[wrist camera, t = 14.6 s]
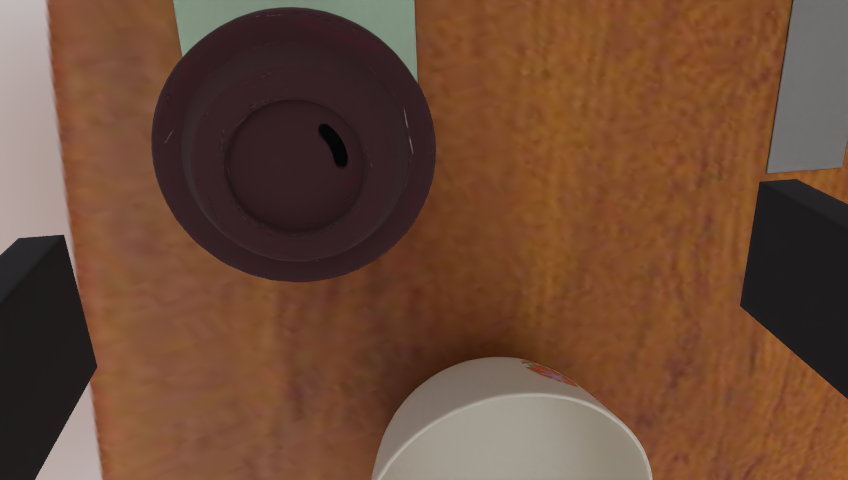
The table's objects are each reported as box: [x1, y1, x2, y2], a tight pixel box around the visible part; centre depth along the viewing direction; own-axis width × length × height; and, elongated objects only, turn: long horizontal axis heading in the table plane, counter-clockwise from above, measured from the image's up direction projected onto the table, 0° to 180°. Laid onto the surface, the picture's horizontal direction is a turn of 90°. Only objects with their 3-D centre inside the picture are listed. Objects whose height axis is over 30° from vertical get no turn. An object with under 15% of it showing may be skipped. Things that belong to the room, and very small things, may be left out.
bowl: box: [371, 357, 652, 480], centre depth 42 cm, size 16×16×10 cm
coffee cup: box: [152, 7, 436, 282], centre depth 30 cm, size 10×10×15 cm
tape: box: [766, 0, 848, 173], centre depth 41 cm, size 14×5×1 cm, turn 2°
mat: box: [173, 0, 418, 83], centre depth 37 cm, size 12×12×1 cm
